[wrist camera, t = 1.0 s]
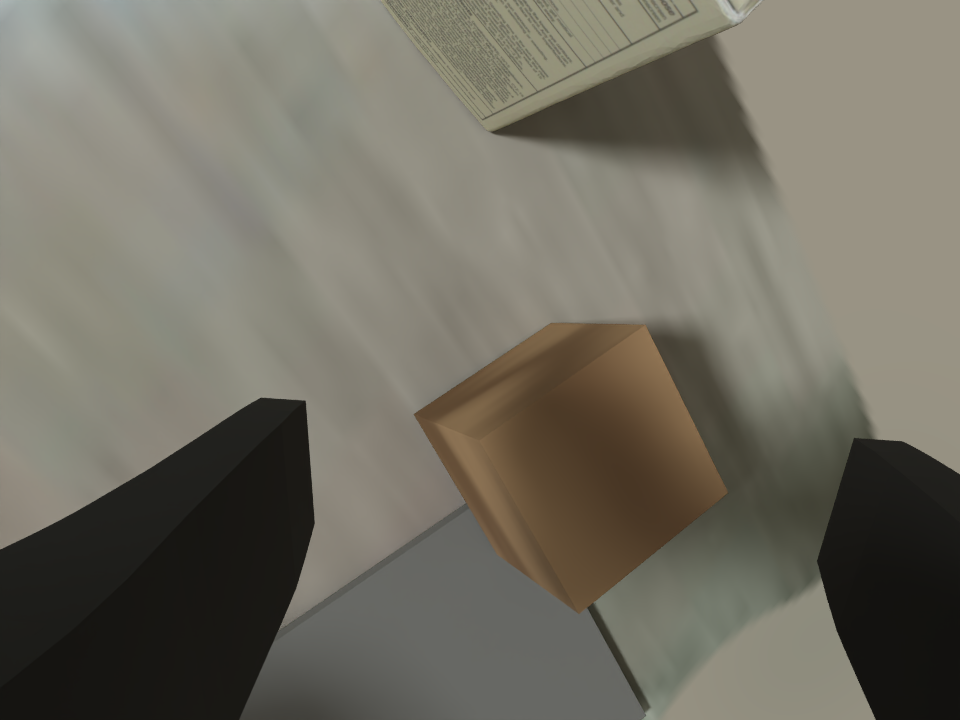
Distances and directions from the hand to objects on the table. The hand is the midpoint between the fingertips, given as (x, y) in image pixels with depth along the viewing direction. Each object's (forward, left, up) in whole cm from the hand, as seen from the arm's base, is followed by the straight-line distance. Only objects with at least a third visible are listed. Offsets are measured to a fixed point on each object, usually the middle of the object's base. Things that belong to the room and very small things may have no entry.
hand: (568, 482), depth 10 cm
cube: (+3, -4, -12) cm, 13 cm away
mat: (-4, -10, -12) cm, 16 cm away
